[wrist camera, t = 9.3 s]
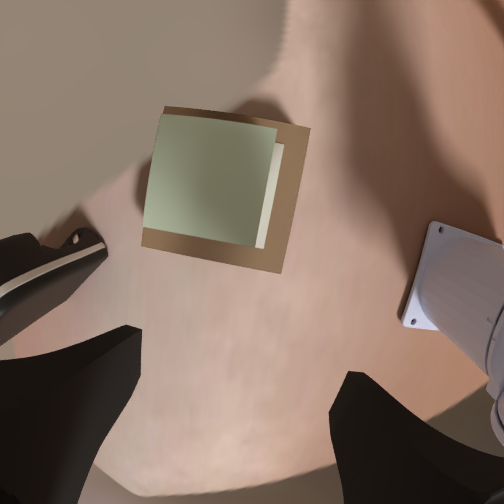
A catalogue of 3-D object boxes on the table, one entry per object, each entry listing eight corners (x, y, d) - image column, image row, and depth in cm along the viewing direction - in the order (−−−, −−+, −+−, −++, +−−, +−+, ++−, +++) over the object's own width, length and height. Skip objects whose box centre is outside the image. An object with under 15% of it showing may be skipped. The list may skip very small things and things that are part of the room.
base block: (302, 137, 17) (310, 128, 14) (278, 260, 19) (280, 274, 16) (179, 117, 17) (164, 105, 14) (158, 237, 19) (140, 246, 16)
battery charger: (85, 210, 19) (-40, 239, 8) (114, 251, 19) (-2, 313, 8) (41, 265, 20) (-60, 314, 9) (66, 302, 20) (-29, 369, 9)
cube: (273, 146, 14) (277, 129, 10) (257, 230, 15) (254, 247, 11) (188, 133, 14) (161, 113, 10) (174, 215, 15) (142, 226, 11)
